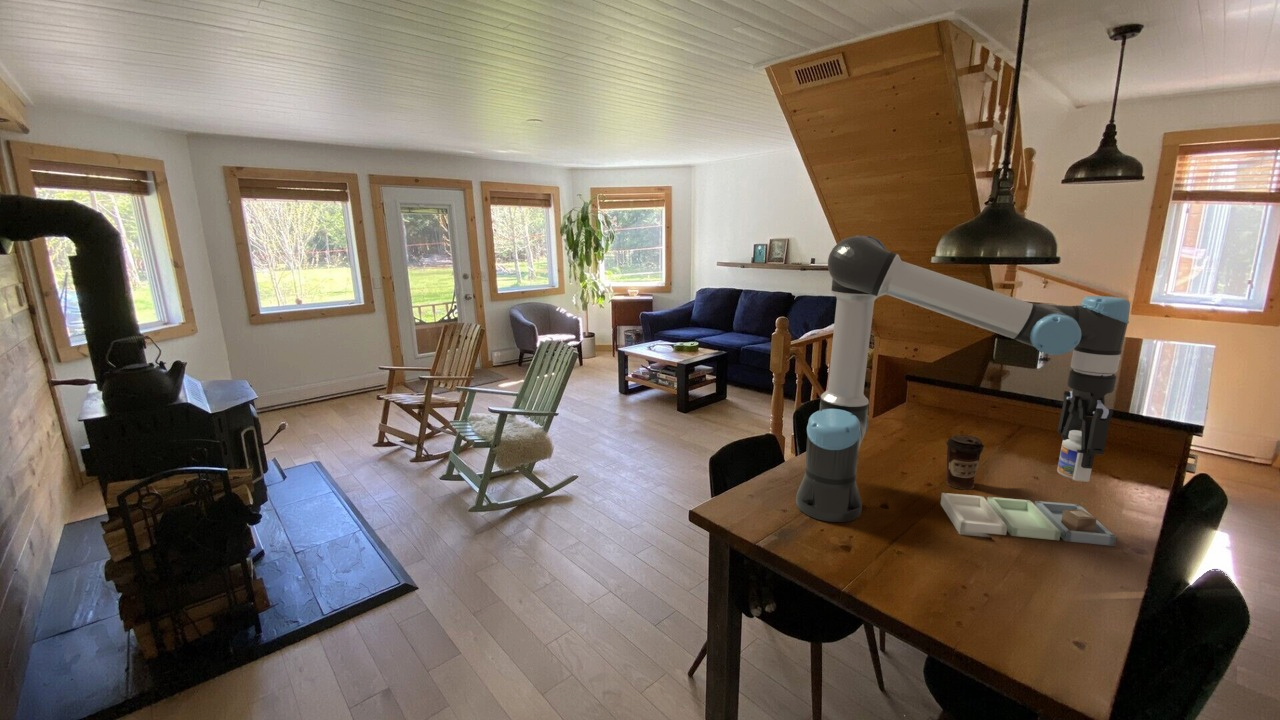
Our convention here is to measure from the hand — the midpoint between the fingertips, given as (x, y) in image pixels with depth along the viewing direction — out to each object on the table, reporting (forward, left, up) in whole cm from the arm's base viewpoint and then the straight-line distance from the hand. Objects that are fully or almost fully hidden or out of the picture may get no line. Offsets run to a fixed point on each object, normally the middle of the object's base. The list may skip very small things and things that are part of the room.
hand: (1072, 473), depth 116 cm
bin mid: (-8, 0, -13) cm, 16 cm away
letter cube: (+2, -2, -12) cm, 13 cm away
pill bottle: (0, 0, 0) cm, 0 cm away
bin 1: (-18, 0, -13) cm, 23 cm away
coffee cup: (-15, +19, -14) cm, 28 cm away
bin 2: (+2, 0, -13) cm, 13 cm away
